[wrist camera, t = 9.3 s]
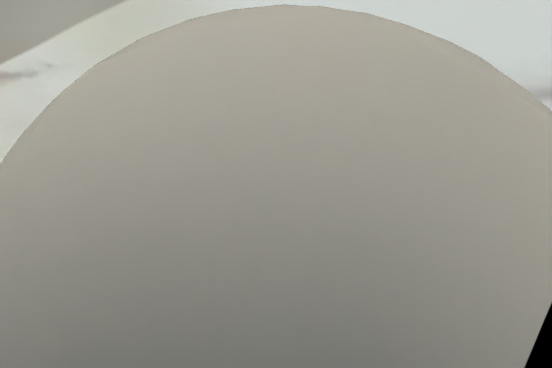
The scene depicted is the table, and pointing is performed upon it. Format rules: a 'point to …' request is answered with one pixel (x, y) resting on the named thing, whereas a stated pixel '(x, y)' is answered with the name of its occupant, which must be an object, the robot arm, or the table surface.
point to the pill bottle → (281, 204)
